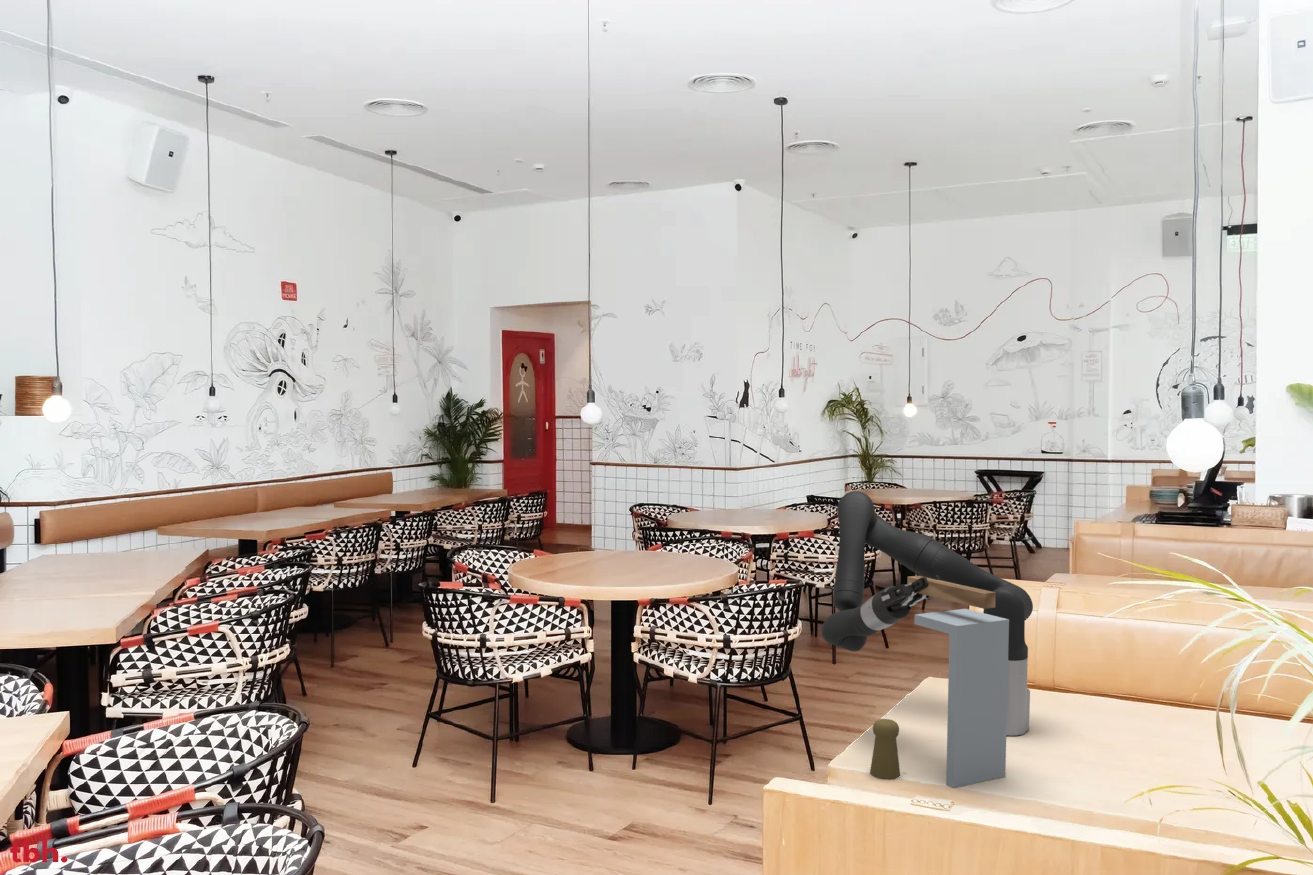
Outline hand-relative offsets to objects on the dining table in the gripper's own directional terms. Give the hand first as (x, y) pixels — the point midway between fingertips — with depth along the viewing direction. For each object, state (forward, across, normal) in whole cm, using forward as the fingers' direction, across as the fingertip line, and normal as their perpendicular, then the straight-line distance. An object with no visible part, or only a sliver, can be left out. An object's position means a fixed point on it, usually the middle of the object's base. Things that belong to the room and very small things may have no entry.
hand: (932, 580), depth 220 cm
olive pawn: (-17, -14, +34) cm, 41 cm away
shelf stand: (-12, 0, +37) cm, 39 cm away
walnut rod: (+3, 0, +5) cm, 6 cm away
